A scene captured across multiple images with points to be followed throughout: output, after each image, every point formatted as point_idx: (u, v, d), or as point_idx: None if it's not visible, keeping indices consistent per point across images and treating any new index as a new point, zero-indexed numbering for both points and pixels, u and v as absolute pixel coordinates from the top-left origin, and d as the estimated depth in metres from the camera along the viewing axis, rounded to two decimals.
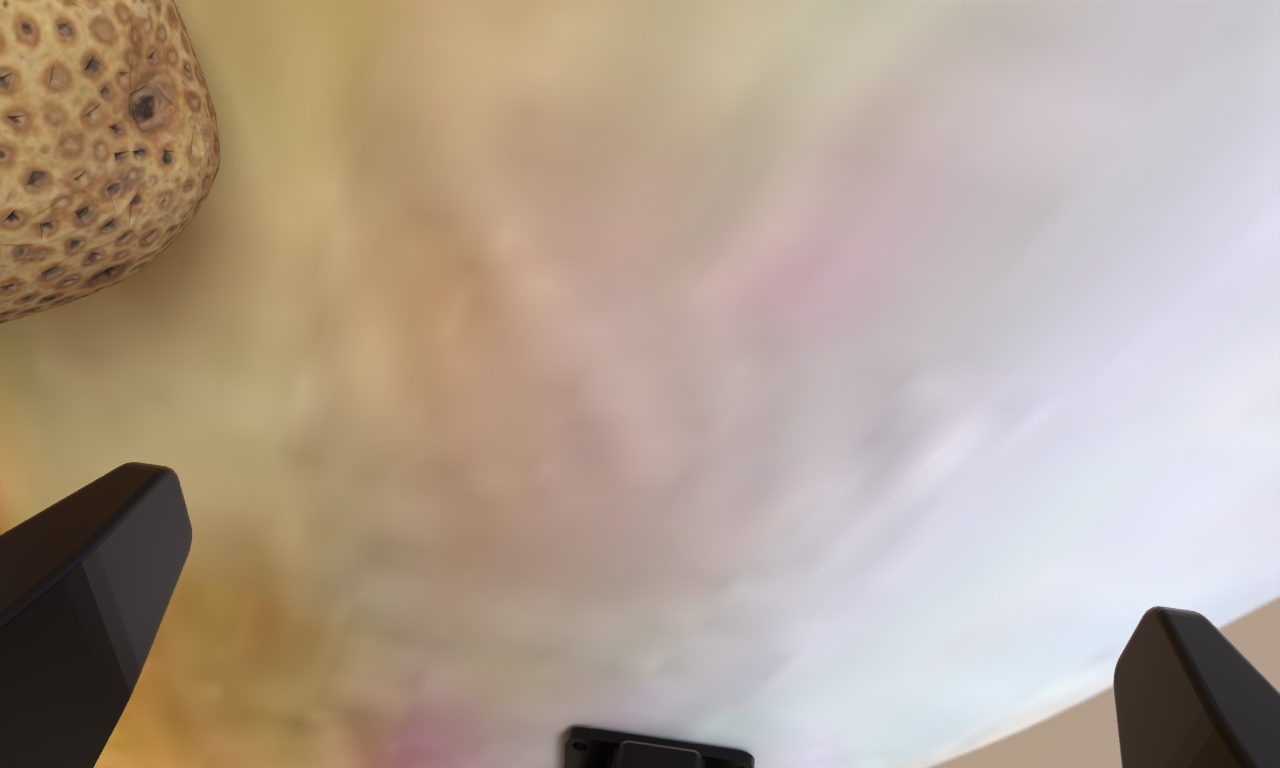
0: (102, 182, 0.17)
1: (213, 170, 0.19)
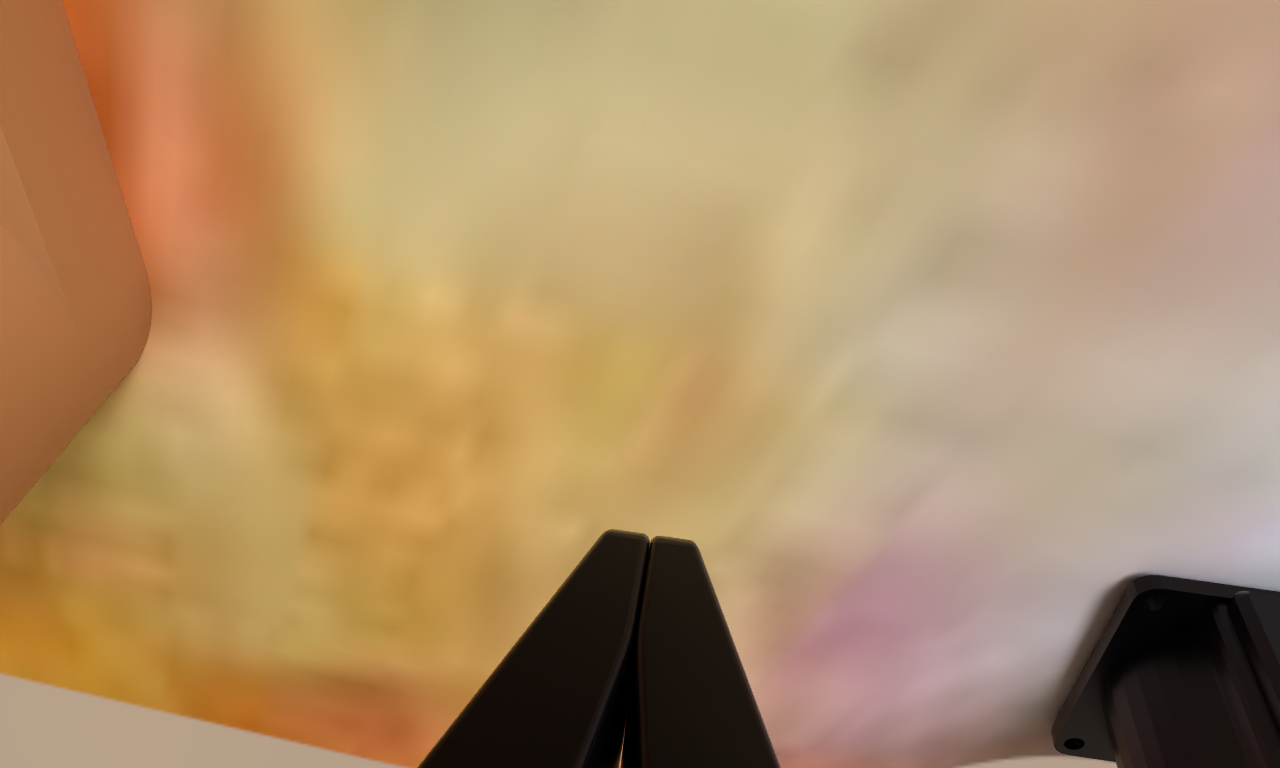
0: None
1: None
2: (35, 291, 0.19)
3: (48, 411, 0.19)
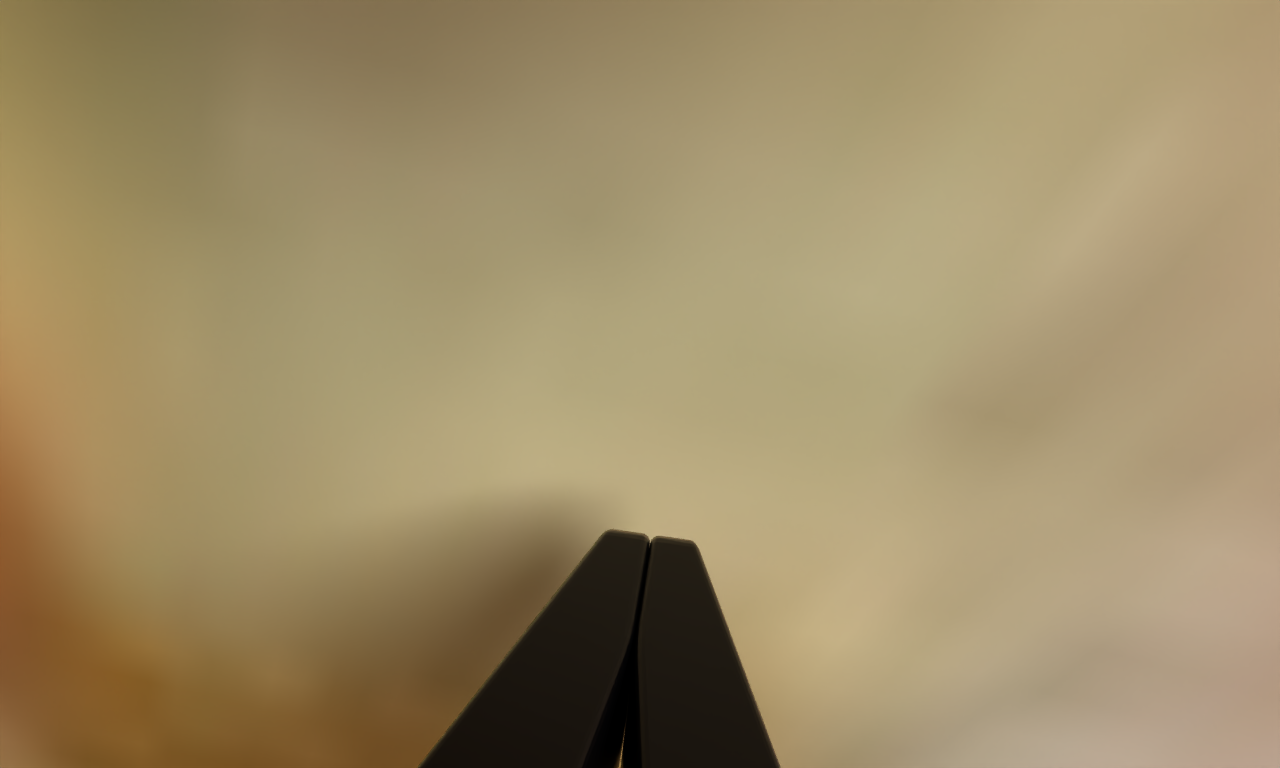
0: None
1: None
2: None
3: None
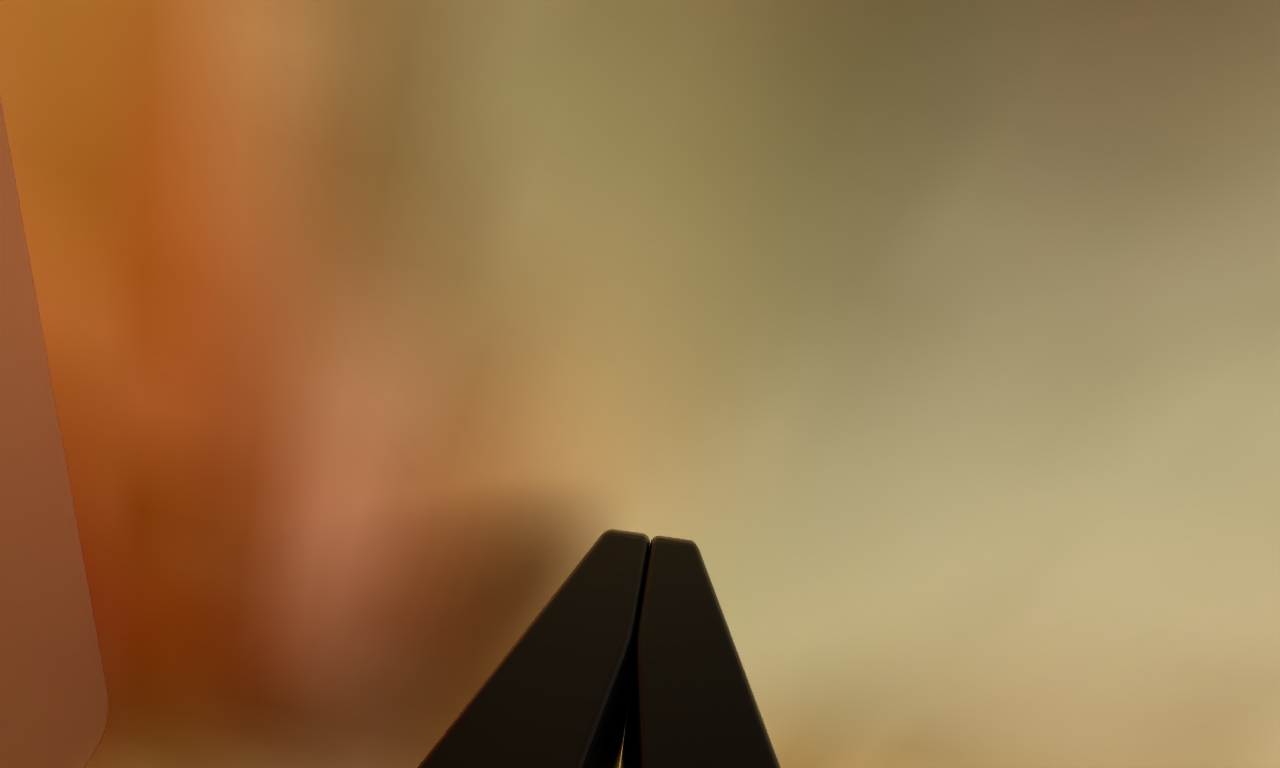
0: None
1: None
2: None
3: None
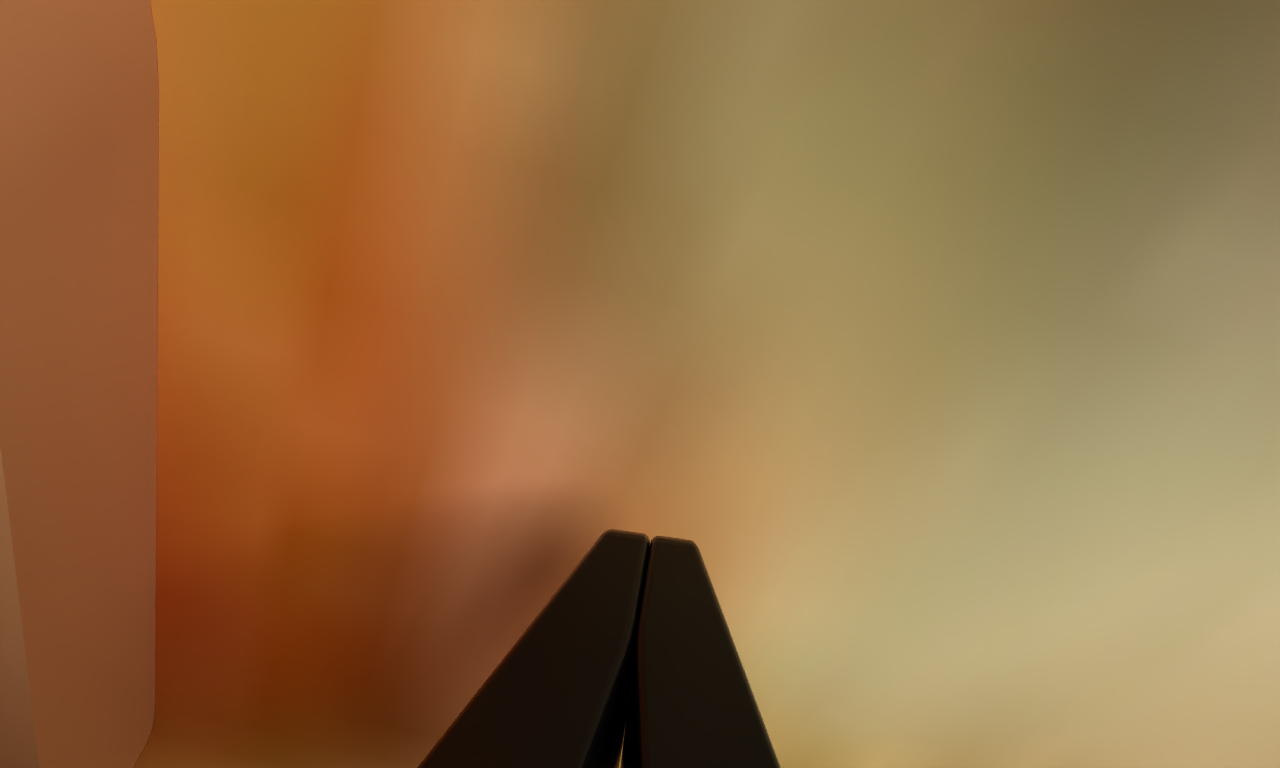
0: None
1: None
2: None
3: None
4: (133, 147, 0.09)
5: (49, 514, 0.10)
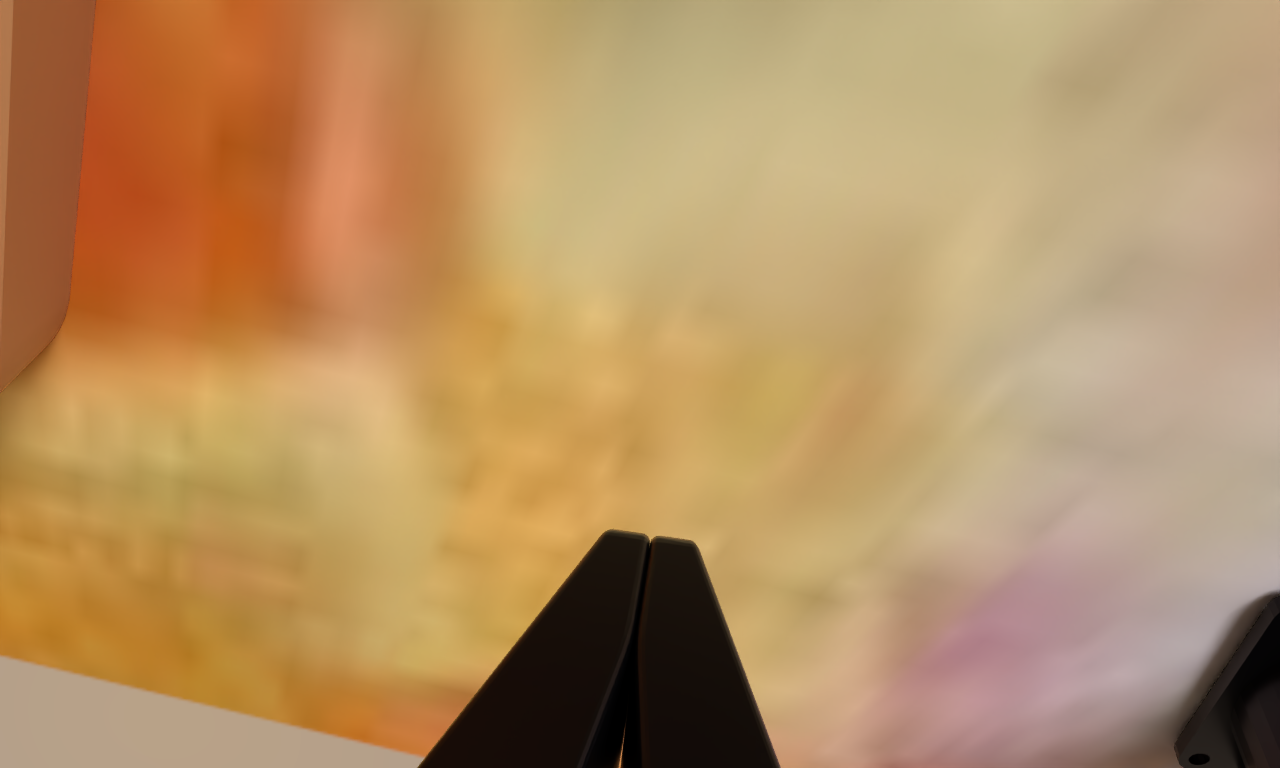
0: None
1: None
2: None
3: None
4: None
5: (29, 79, 0.18)
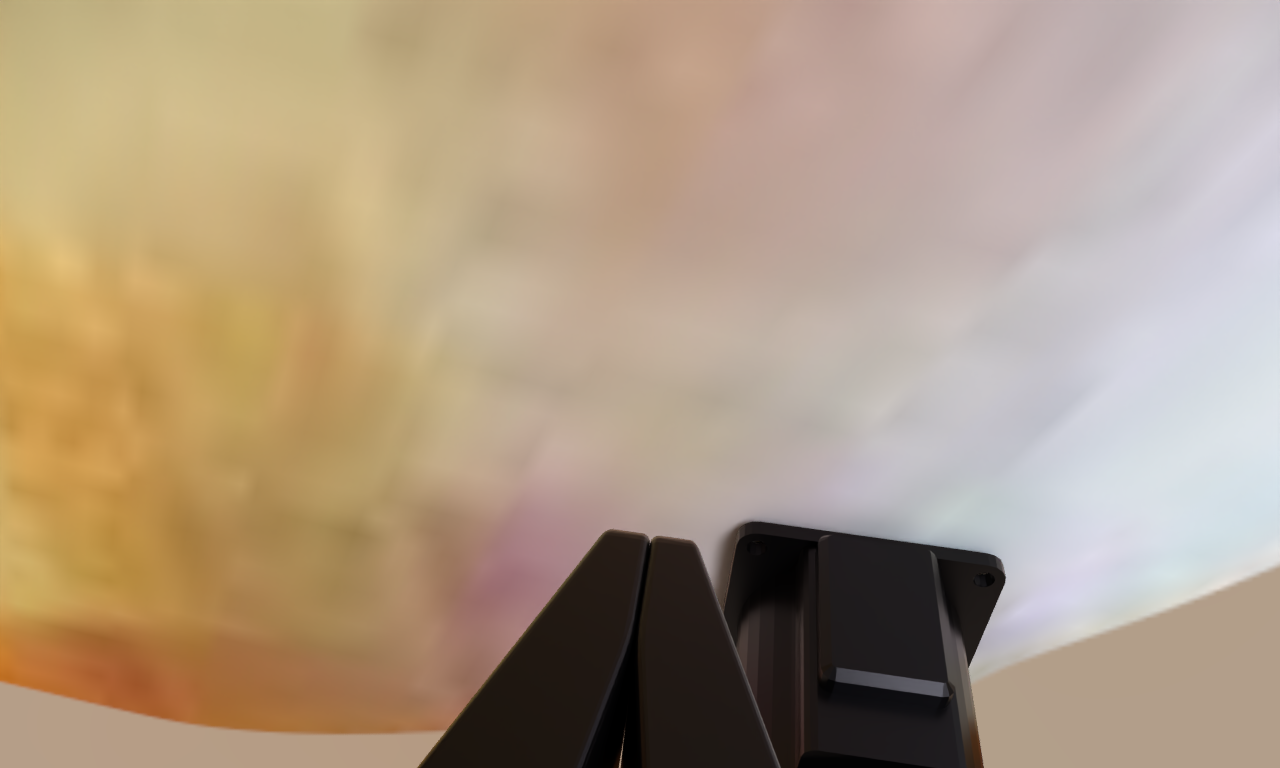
0: None
1: None
2: None
3: None
4: None
5: None
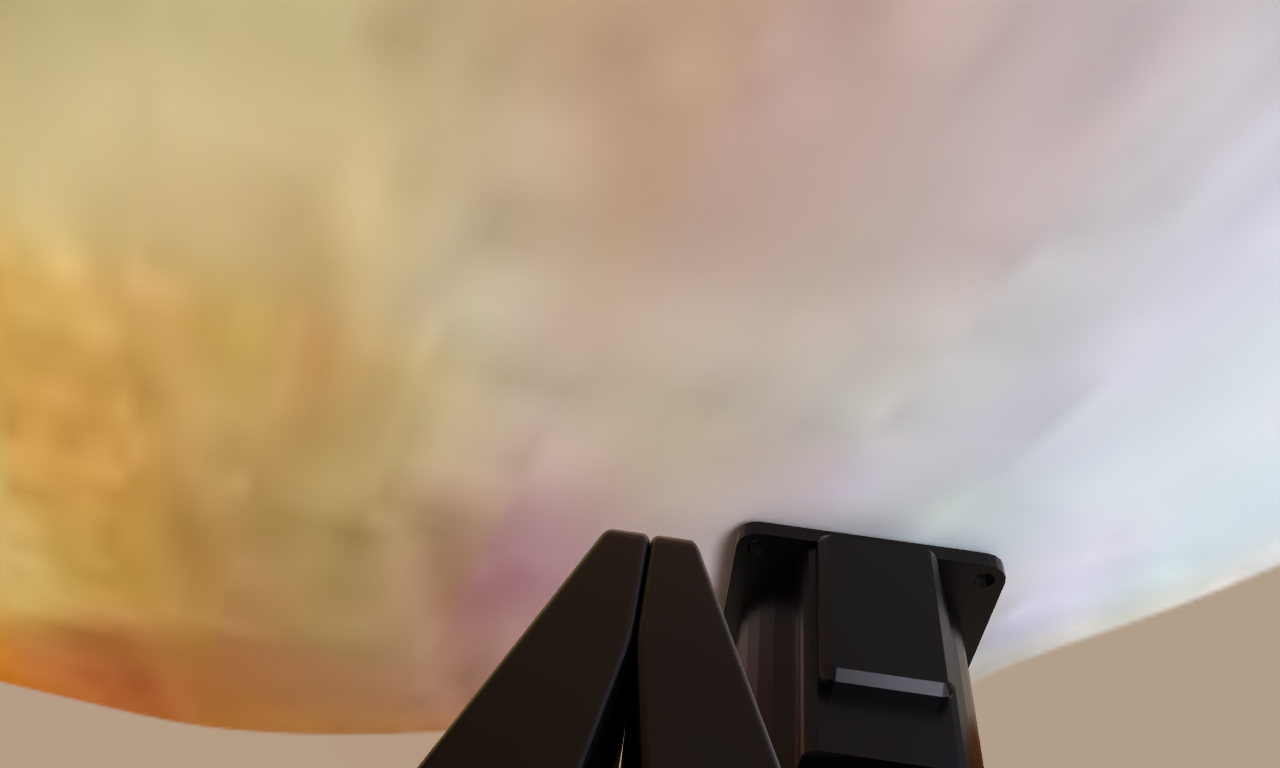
0: None
1: None
2: None
3: None
4: None
5: None
